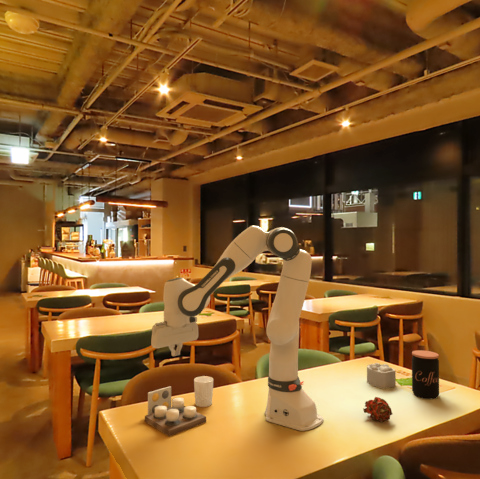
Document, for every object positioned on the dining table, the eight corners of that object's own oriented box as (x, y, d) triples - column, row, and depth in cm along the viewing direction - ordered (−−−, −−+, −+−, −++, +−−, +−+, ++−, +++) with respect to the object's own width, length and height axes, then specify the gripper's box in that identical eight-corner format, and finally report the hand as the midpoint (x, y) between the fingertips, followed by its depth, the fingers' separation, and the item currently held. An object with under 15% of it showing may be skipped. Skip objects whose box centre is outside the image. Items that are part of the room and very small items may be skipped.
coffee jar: (412, 397, 169) (412, 355, 169) (411, 389, 178) (411, 349, 179) (440, 401, 165) (439, 357, 165) (438, 392, 174) (437, 351, 175)
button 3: (186, 406, 150) (186, 399, 150) (176, 409, 147) (176, 402, 147) (179, 403, 153) (179, 396, 153) (169, 406, 150) (169, 399, 150)
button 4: (169, 415, 145) (169, 408, 145) (158, 418, 142) (158, 411, 142) (162, 411, 148) (162, 404, 148) (152, 414, 145) (152, 407, 145)
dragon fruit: (389, 431, 141) (366, 422, 152) (402, 413, 144) (379, 406, 155) (376, 413, 140) (354, 406, 151) (389, 395, 143) (367, 389, 154)
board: (206, 422, 144) (206, 416, 144) (169, 436, 133) (169, 429, 133) (180, 409, 156) (180, 403, 156) (144, 421, 145) (144, 415, 145)
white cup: (210, 408, 157) (210, 383, 157) (191, 406, 158) (191, 381, 159) (215, 401, 164) (215, 376, 165) (197, 399, 166) (197, 375, 166)
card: (171, 409, 155) (171, 386, 155) (149, 417, 148) (149, 393, 148) (170, 409, 156) (170, 386, 156) (147, 416, 149) (147, 392, 149)
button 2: (181, 418, 139) (181, 411, 139) (170, 422, 136) (170, 415, 136) (174, 414, 142) (174, 407, 142) (163, 418, 139) (163, 411, 139)
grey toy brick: (383, 389, 178) (382, 370, 179) (361, 381, 190) (361, 362, 190) (398, 385, 183) (398, 366, 184) (376, 377, 195) (376, 360, 195)
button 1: (198, 415, 144) (198, 408, 145) (188, 418, 141) (188, 411, 142) (191, 411, 148) (191, 405, 148) (181, 415, 145) (181, 408, 145)
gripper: (156, 324, 144) (157, 362, 144) (200, 317, 159) (201, 351, 158) (147, 322, 149) (148, 359, 148) (190, 315, 163) (191, 349, 163)
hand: (175, 355), depth 153 cm, fingers closed
